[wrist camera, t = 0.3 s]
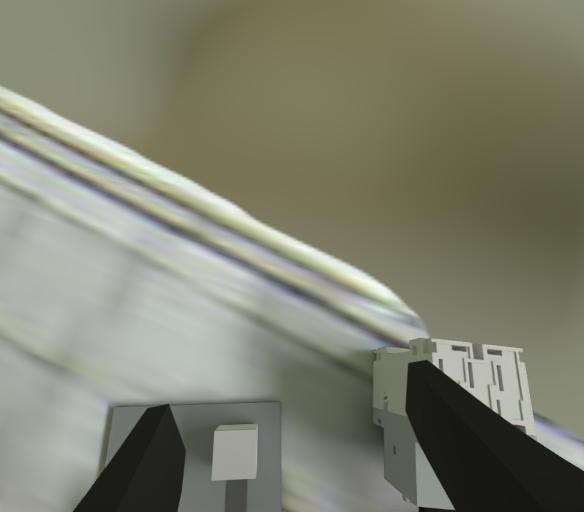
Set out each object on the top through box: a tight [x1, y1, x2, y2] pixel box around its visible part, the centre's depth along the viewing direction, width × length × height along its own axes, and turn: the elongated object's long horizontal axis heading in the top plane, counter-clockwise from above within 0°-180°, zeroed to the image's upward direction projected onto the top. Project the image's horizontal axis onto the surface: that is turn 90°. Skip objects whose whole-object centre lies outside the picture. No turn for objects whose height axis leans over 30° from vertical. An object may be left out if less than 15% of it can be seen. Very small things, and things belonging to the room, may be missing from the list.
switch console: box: [104, 402, 282, 512], centre depth 32 cm, size 18×18×1 cm
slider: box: [212, 424, 258, 481], centre depth 32 cm, size 4×4×4 cm
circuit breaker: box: [373, 338, 537, 512], centre depth 30 cm, size 8×14×15 cm, turn 174°
